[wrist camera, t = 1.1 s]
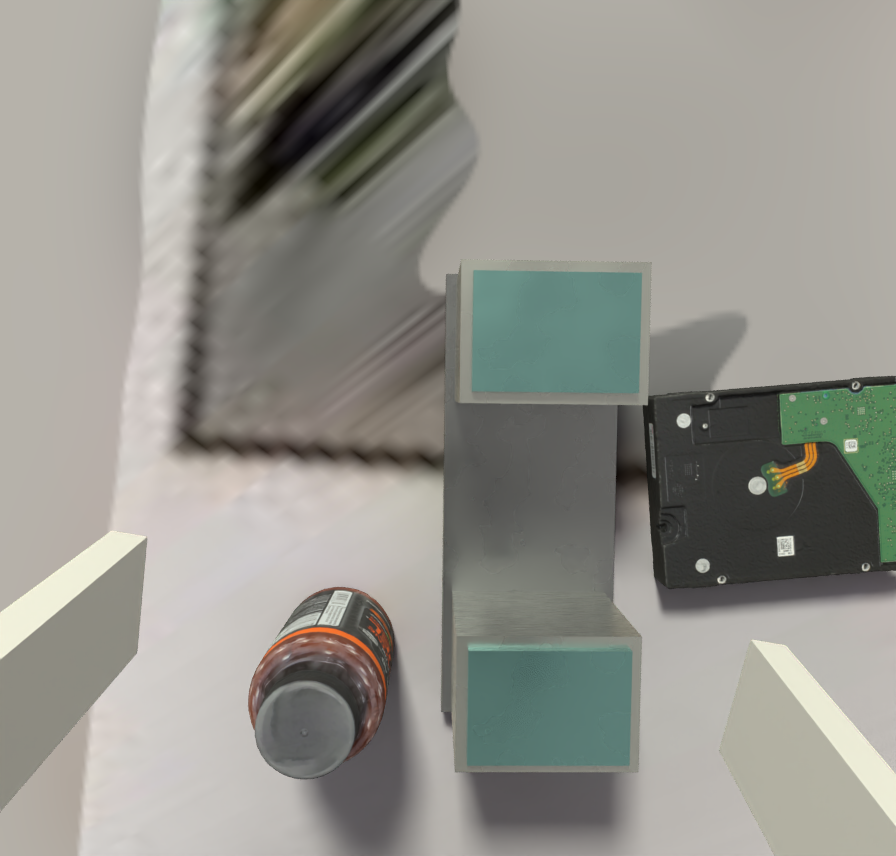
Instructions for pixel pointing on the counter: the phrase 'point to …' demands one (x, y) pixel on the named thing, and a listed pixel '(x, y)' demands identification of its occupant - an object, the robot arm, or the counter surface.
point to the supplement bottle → (322, 683)
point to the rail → (539, 513)
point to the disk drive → (772, 482)
